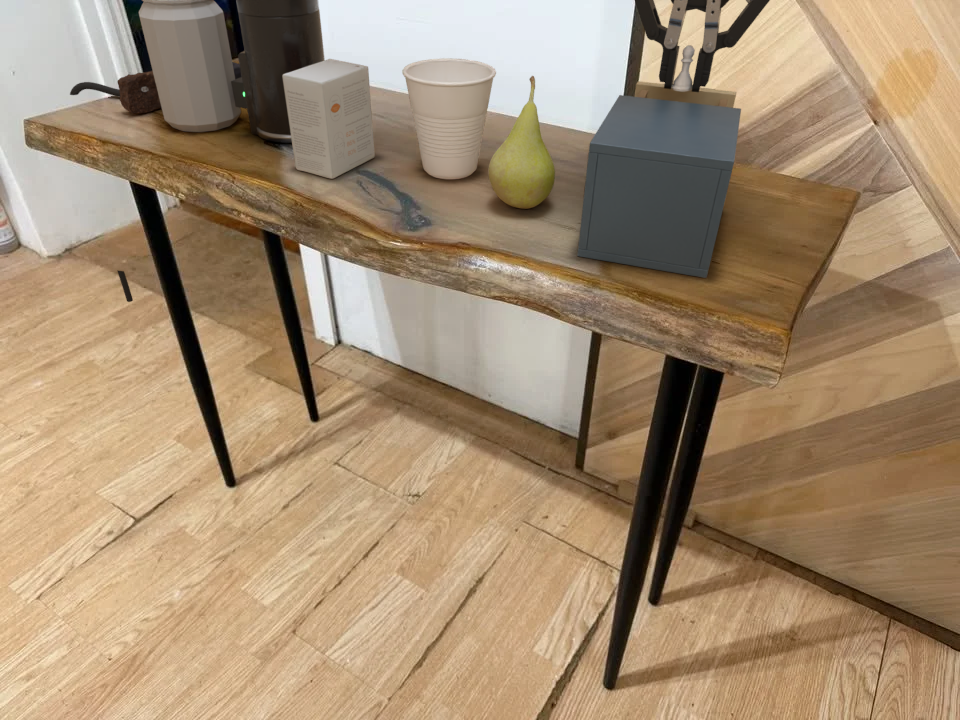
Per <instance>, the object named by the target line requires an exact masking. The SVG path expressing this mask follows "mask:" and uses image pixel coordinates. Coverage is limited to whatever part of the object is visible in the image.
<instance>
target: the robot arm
mask: <svg viewBox="0 0 960 720" xmlns="http://www.w3.org/2000/svg"><path fill="white" fill-rule="evenodd" d="M729 1H730V0H670V2H671V4H672V8H671V11H670V15H669V19H668V24H667V25H668V26H664V25H662V22H661V19H660V16H659V13H658V9H657V7H656V4H655V0H634V4H635V5H636V6H635V7H636V9H637V12H638V16H639V18H640V21H641V24H642V26H643V29H644V30H643V31H644V32H645V33H644V34H645V35H646V38H647V39H648V40H649V41H654V42H656V43H658V44H660V46H661V48H662V55H661V60H660V67H659V73H658V79H659V83H663V84H664V89H671V88H672V85H673V83H674V80H675V76H676V69H677V64H678V59H679V53H680V47H681V46H680V45H679V40H680V37H681V34H682V28H683V27H684V26H683V25H684V22H685V19H686V16H687V12H688V11H693V10H698V11H700V12H703V13H705V14H704V15H705V17H704V27H703V28H704V29H703V40H702V45H701V47H700V49H699V51H698V55H697V61H696V65H695V71H694V77H693V80H692V85H693V86H692V92H699V90H700V88H701V87H702V88H706V86H707V84H708V83H709V80H710V76H711V71H712V67H713V62H714V57H715V54H716V52H717V51H719V50H722V49H725V48H728V49H730V48H734V47H735V46H736V44H738V42H739V41H740V39H741V38H742V37H743V36H744V34H745V33H746V32H747V30H748V29H749V28H750V27H751V26H752V24H753V23H754V21H755V20H756V19H757V18H758V16H759V15H760V14H761V12H762V11H763V10H764V9H765V8H766V6H767V5H768V4H769V2H770V1H771V0H745V2H746V3H747V4H746V5H745V7H744V8H743V9H742V11H741V12H740V13H739V15H738V16H737V17H736V19H735V20H734V21H733V23H732V24H731V25H730V27H728V29H727V30H723V31H719V30H720V22H721V15H722V8H724V7H725V6H726V5H727V3H729ZM235 2H236V9H237V13H238V19H239V20H238V21H239V25H240V32H241V38H242V43H243V51H241V52H239V54H238V55H237V58H238V64H239V65H240V71H241V76H242V77H240V78H238V79H235V80H233V81H231V84H232V90H233V95H234V101H235V106H236V107H240V108H242V109H246V110H247V116H248V121H249V127H250V134H252V135H257V136H258V137H260V138H261V139H263V140H265V141H270V142H275V143H283V144H284V143H285V144H292V139H291V132H290V125H289V118H288V112H287V105H286V98H285V91H284V84H283V77H282V75H283V74H286V73H289V72H292V71H295V70H298V69H301V68H304V67H307V66H310V65H312V64H315V63H319V62H322V61H325V60H326V59H325V58H326V57H325V51H324V50H325V49H324V40H323V32H322V30H323V29H322V22H321V12H320V11H321V10H320V4H319V0H235ZM85 90H92V91H97V92H101V93H104V94H107V95H110V96H115V97H118V98H120V91H119V88H115V87H112V86H107V85H104V84H101V83H97V82H92V81H82V82H79V83H77V84H75V85H74V86H73V87H72V88H71V90H70V92H69V95H70V96H77V95H79V94H80V93H81V92H83V91H85ZM117 275H118V277H119V281H120V284H121V287H122V290H123V293H124V296H125V299H126V302H128V303H130V302H131V303H132V302H133V301H134V300H133V299H134V298H133V295H132V292H131V289H130V286H129V282H128V279H127V276H126V273H125V271H124V270H117Z"/></svg>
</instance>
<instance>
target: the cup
mask: <svg viewBox="0 0 960 720" xmlns="http://www.w3.org/2000/svg"><path fill="white" fill-rule="evenodd" d="M401 73H402V75H403V77H404V78H405V83H406V88H407V89H406V90H407V94H408V99H409V103H410V108H411V113H412V118H413V122H414V127H415V131H416V138H417V144H418V148H419V154H420V159H421V160H420V161H421V164H422V169H423V170H424V171H425V173H427V174H428V176H431V177H432V178H436V179H441V180H459V179H464V178H468V177H469V176H471V175H472V174H473V173H474V172H476V171H477V169H478V165H479V158H480V153H481V147H482V141H483V135H484V130H485V124H486V119H487V113H488V108H489V103H490V97H491V93H492V87H493V81H494V78H495V77H496V76H497V75H496V74H497V71H496V68H495V67H493V66H492V65H490V64H488V63H485V62H482V61H477V60H472V59H467V58H449V57H448V58H445V57H443V58H429V59H423V60H418V61H415V62H412V63H409V64H407V65H405V66H404V67H403V69H402V70H401Z"/></svg>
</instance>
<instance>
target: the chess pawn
mask: <svg viewBox="0 0 960 720" xmlns="http://www.w3.org/2000/svg"><path fill="white" fill-rule="evenodd" d="M695 51H696V48H694V46H693V45H692V44H691V45H690V44H688V45H686V46H685V47H684V48H683V49H682V58H681V60H680V61H681V63H682V64H681V65H682V66H681V71H680V72H679V73H678V75H677V76H676V77H675V78H674V81H673V85H672V89H673V90H675V91H680V92H685V91H690V90H691V89H692V86H693V80H692V77H691V74H690V66H691V63H693V62H694V60H693V56H694V55H695Z"/></svg>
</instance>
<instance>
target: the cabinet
mask: <svg viewBox="0 0 960 720" xmlns="http://www.w3.org/2000/svg"><path fill="white" fill-rule="evenodd" d="M741 113H742V108H739V107H733V108H731V107H722V106H713V105H704V104H695V103H686V102H677V101H668V100H659V99H650V98H641V97H635V96H632V95H624V94H620V95H618V97H617V98H616V100H615V101H614V103H613V105H612V106H611V108H610V110H609V112H608V113H607V114H606V116H605V118H604V119H603V121H602V122H601V124H600V126H599V128H598V129H597V131H596V132H595V133H594V136H593V137H592V139H591V140H590V142H589V146H588V155H587V163H586V164H587V165H586V173H585V174H586V175H585V183H584V191H583V201H582V209H581V217H580V218H581V220H580V227H579V236H578V237H579V238H578V246H577V247H578V248H577V255H576V256H577V257H580V258H586V259H592V260H597V261H602V262H603V261H604V262H610V263H616V264H621V265H626V266H634V267H639V268H645V269H651V270H657V271H662V272H668V273H673V274H678V275H679V274H680V275H684V276H685V275H686V276H691V277H698V278H703V279H707V278H708V274H709V270H710V265H711V261H712V257H713V253H714V249H715V244H716V240H717V236H718V232H719V228H720V225H721V224H720V223H721V219H722V217H723V216H722V215H723V211H724V208H725V202H726V199H727V194H728V190H729V186H730V181H731V178H732V173H733V169H734V165H735V159H736V152H737V144H738V136H739V129H740V121H741Z"/></svg>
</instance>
